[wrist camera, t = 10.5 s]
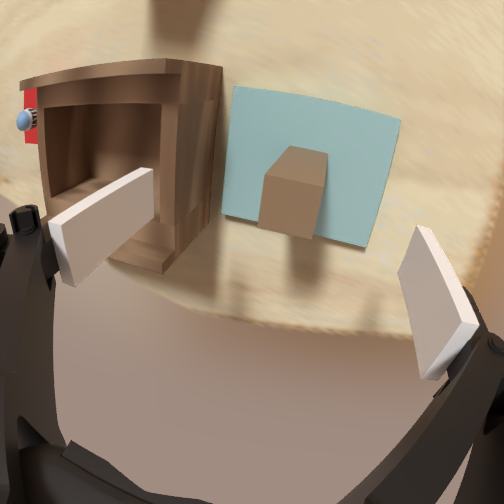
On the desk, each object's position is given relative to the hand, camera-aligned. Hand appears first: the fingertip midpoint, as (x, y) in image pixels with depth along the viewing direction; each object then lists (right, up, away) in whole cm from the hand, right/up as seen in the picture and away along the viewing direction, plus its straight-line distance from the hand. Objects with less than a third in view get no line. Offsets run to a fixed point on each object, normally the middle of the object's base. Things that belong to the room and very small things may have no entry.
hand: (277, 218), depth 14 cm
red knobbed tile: (-23, +15, +13) cm, 30 cm away
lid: (+3, +6, +10) cm, 12 cm away
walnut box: (-12, +9, +12) cm, 19 cm away
